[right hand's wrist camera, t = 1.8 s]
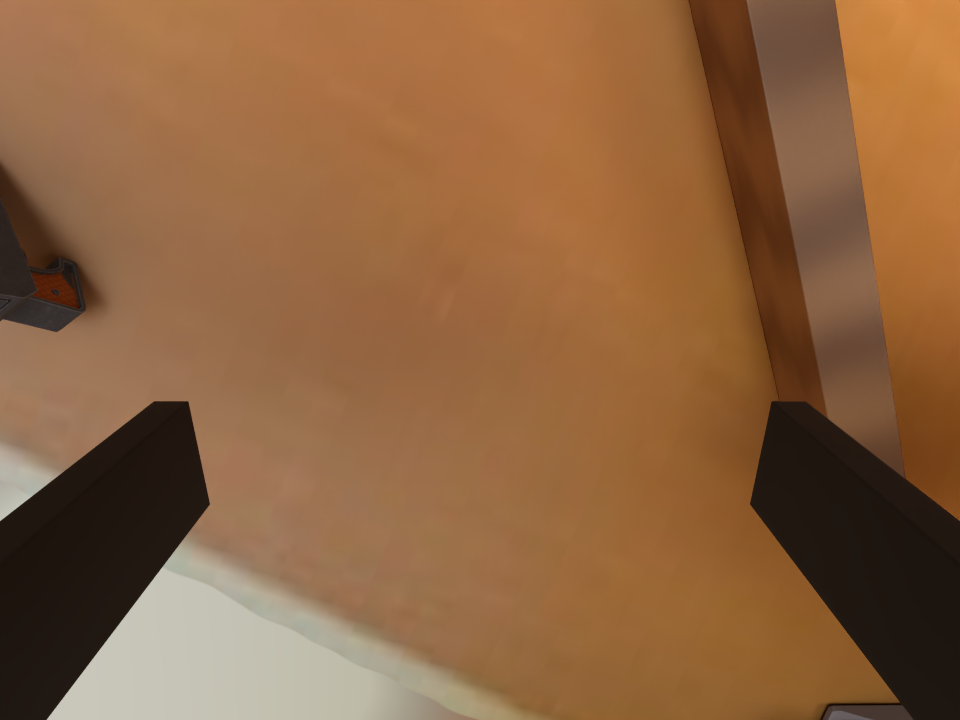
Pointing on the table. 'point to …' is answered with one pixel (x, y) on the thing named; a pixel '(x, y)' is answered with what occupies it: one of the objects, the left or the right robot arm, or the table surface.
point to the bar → (802, 206)
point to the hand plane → (867, 712)
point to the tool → (36, 286)
